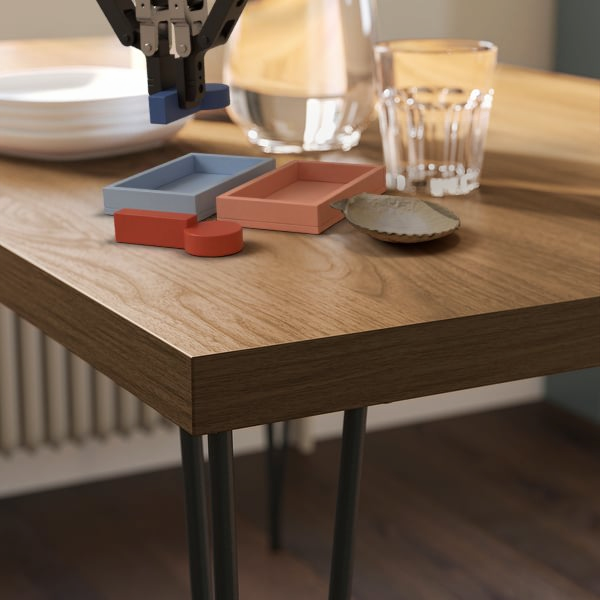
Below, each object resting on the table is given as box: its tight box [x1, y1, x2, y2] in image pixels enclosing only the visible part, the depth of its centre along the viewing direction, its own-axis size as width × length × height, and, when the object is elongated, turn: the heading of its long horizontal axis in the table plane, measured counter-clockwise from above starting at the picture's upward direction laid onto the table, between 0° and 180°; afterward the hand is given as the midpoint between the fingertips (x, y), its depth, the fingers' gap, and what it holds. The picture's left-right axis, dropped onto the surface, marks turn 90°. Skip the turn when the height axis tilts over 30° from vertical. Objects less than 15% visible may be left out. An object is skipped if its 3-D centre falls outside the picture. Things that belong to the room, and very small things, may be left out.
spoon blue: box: [148, 82, 231, 125], centre depth 87 cm, size 9×4×2 cm, turn 156°
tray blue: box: [102, 152, 277, 222], centre depth 90 cm, size 13×8×2 cm, turn 156°
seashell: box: [329, 192, 461, 245], centre depth 77 cm, size 8×3×8 cm
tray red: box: [216, 159, 387, 235], centre depth 86 cm, size 13×8×2 cm, turn 156°
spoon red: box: [113, 208, 244, 258], centre depth 77 cm, size 9×4×2 cm, turn 66°
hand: (177, 106), depth 86 cm, fingers closed on spoon blue, 1 cm apart
